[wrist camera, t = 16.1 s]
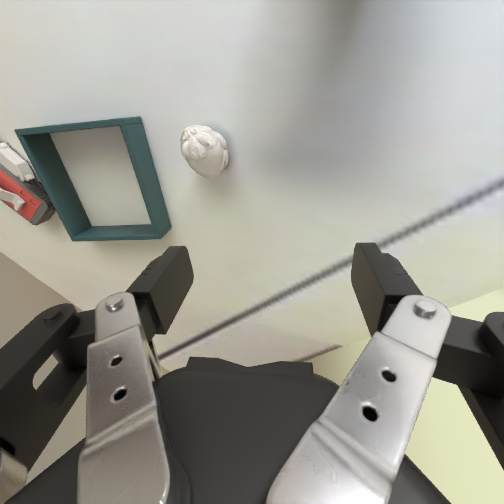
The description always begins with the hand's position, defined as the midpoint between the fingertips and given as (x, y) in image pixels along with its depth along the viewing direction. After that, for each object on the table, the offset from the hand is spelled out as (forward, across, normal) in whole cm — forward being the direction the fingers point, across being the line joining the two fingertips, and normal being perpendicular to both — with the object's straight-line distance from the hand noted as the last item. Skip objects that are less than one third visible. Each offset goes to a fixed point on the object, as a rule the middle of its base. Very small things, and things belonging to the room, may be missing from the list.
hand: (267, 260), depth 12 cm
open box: (+28, +28, +2) cm, 40 cm away
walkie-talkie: (+28, +46, -1) cm, 54 cm away
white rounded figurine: (+28, +10, -2) cm, 30 cm away
